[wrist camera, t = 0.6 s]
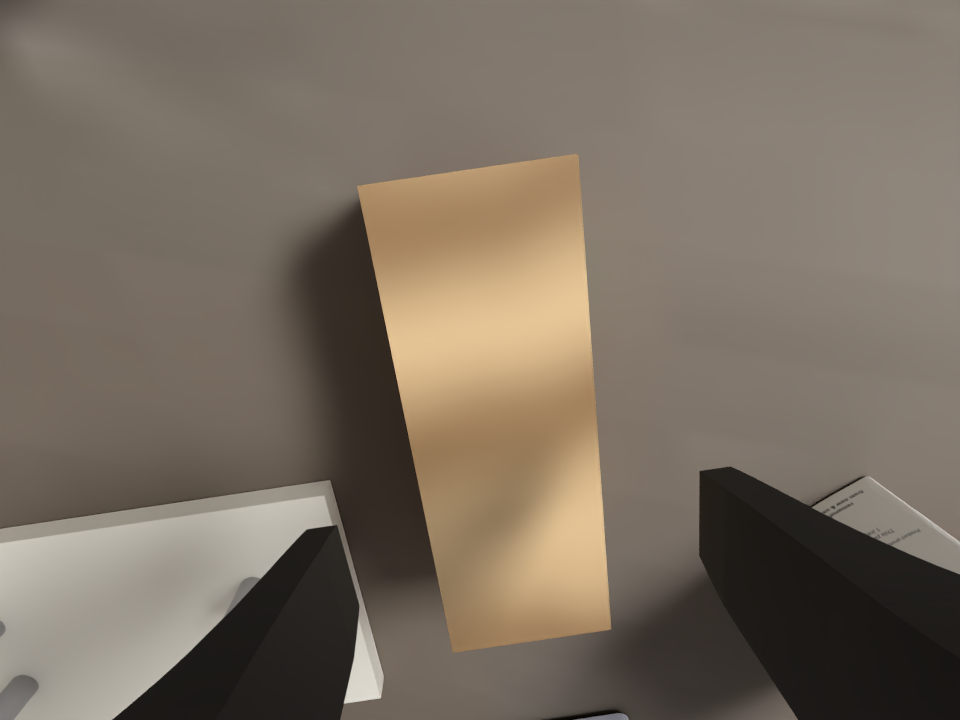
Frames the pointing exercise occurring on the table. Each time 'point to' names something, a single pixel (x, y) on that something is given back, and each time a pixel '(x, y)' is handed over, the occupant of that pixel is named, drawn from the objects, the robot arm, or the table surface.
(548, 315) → the tan wooden block
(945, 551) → the ink box
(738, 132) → the table surface
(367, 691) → the peg stand
